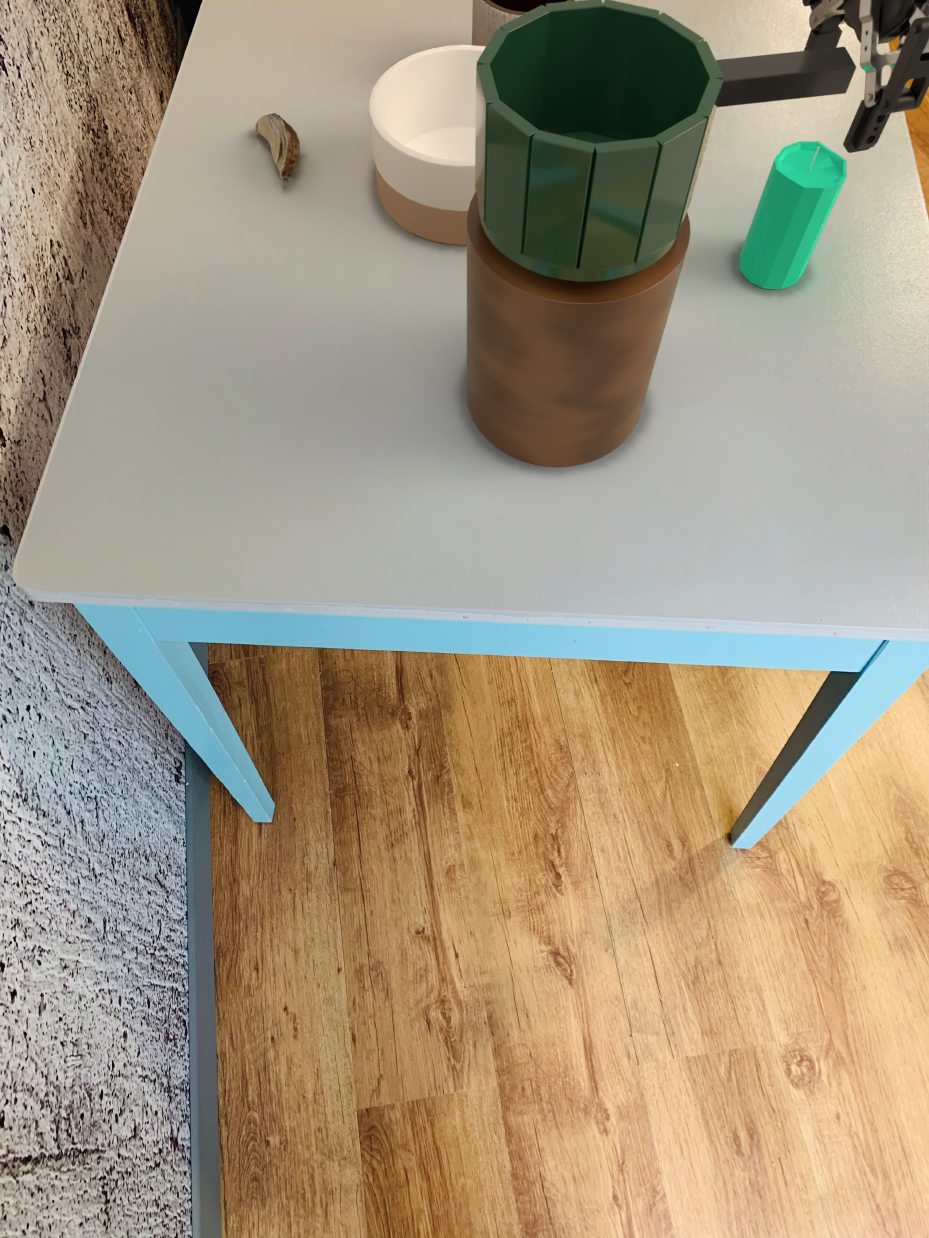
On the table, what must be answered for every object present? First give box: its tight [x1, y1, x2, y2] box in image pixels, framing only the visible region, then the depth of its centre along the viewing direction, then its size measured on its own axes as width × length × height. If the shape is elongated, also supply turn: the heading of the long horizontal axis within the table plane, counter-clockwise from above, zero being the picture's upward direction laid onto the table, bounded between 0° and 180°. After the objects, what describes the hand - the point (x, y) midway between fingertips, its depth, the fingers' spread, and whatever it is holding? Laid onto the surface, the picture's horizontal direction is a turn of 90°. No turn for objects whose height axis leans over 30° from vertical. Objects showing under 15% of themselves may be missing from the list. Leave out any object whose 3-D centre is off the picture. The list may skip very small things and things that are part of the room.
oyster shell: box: [254, 112, 301, 184], centre depth 85 cm, size 6×4×10 cm
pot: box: [475, 0, 857, 282], centre depth 52 cm, size 22×14×9 cm, turn 99°
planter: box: [471, 0, 581, 47], centre depth 87 cm, size 11×11×10 cm
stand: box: [466, 192, 691, 468], centre depth 65 cm, size 15×15×18 cm
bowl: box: [368, 44, 485, 246], centre depth 81 cm, size 17×17×8 cm
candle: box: [738, 140, 848, 291], centre depth 74 cm, size 6×6×12 cm
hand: (832, 113), depth 66 cm, fingers open, 8 cm apart
